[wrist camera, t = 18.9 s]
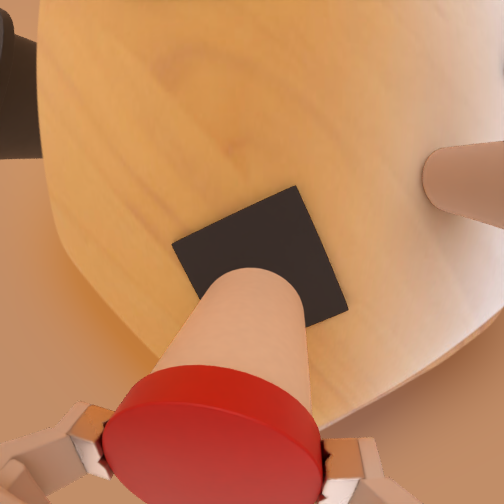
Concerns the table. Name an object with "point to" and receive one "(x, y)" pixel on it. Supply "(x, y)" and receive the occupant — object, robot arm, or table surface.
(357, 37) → the table surface
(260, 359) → the container
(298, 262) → the mat
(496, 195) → the beverage can
